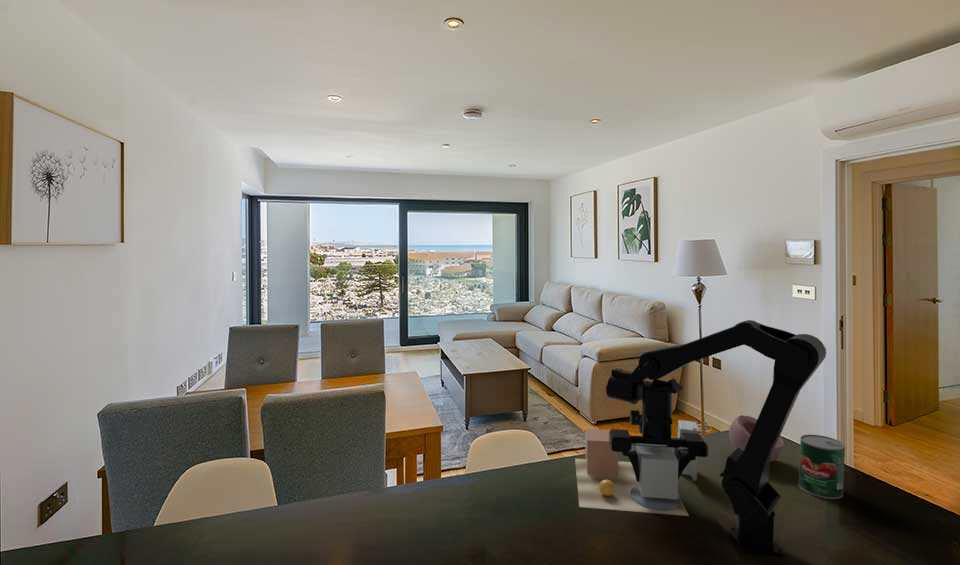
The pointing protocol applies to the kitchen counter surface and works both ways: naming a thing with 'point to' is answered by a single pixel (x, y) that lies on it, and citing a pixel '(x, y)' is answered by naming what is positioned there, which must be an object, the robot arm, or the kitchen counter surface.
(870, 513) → the kitchen counter surface
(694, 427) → the skincare box
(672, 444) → the robot arm
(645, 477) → the pale slate cube
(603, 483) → the amber marble
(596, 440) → the pink sandstone cube
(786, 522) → the kitchen counter surface
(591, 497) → the oak board
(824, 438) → the canned tomato
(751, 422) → the mortar and pestle
